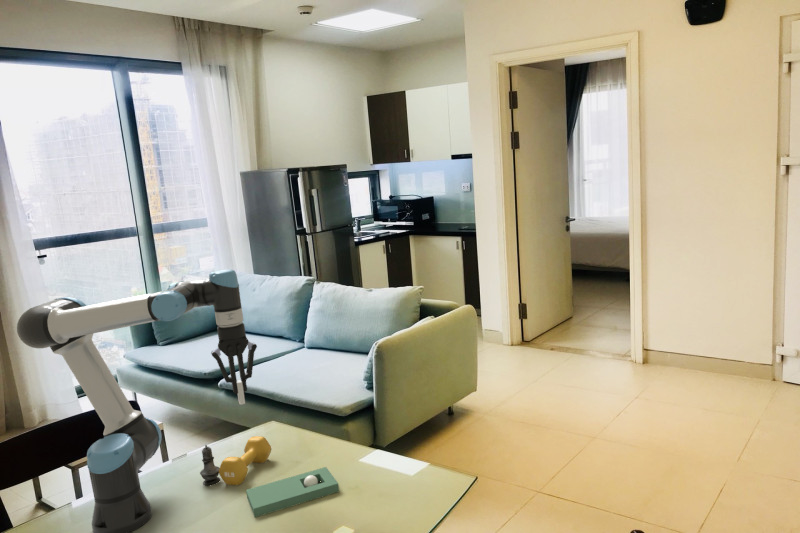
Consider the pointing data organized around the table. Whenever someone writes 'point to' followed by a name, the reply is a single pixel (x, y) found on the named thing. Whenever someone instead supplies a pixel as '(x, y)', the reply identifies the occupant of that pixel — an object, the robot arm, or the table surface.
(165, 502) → the table surface
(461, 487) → the table surface
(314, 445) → the table surface
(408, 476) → the table surface
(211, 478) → the dark grey chess piece
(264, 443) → the dumbbell
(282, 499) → the green
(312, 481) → the ball
